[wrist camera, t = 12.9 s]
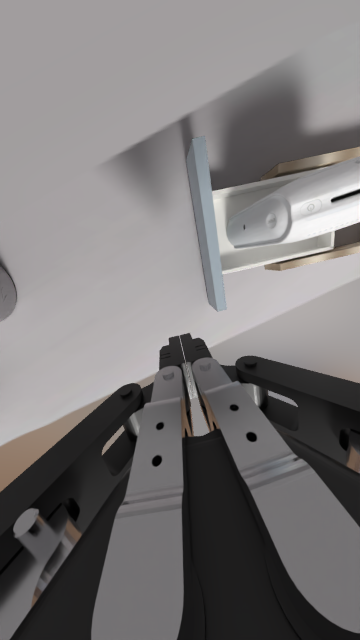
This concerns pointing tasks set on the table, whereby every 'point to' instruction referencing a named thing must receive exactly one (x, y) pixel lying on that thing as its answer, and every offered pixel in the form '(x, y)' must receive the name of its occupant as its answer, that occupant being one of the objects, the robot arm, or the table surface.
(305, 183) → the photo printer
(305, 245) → the tray
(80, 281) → the table surface
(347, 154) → the dock housing
